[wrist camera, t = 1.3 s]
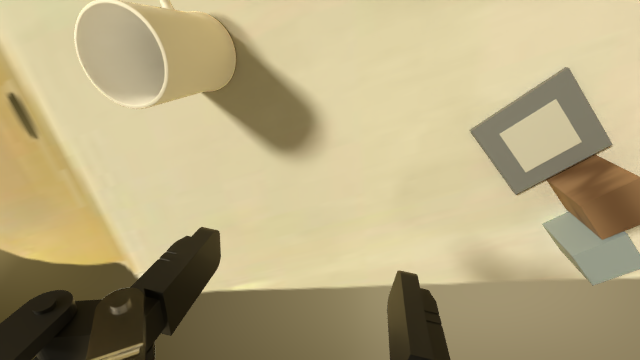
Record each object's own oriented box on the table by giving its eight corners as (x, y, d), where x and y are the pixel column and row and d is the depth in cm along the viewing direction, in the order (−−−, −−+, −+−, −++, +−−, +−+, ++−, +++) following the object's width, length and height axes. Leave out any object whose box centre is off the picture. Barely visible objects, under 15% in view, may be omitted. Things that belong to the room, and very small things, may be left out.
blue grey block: (586, 203, 33) (627, 234, 28) (604, 231, 34) (647, 266, 29) (541, 223, 35) (572, 256, 30) (560, 250, 36) (592, 285, 31)
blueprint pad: (565, 67, 28) (569, 67, 27) (608, 142, 30) (613, 144, 29) (469, 130, 32) (471, 131, 31) (514, 192, 34) (516, 195, 33)
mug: (147, -17, 31) (26, -50, 20) (217, -31, 29) (127, -75, 18) (181, 94, 35) (100, 116, 25) (244, 87, 34) (185, 107, 23)
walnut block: (594, 154, 31) (641, 177, 25) (613, 186, 32) (662, 215, 26) (546, 179, 33) (579, 205, 27) (565, 209, 34) (602, 239, 28)
